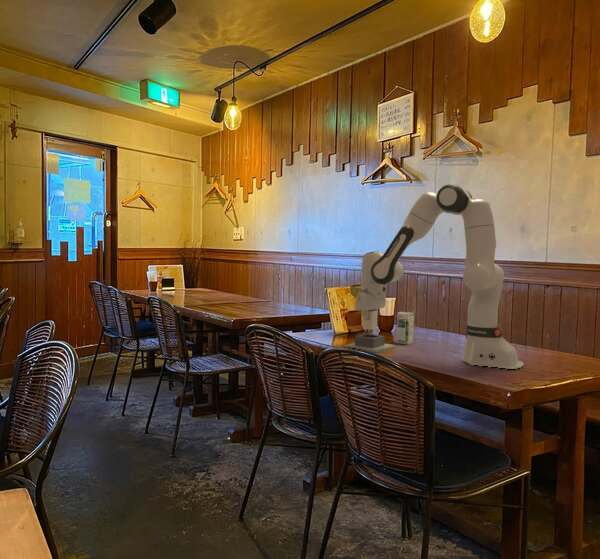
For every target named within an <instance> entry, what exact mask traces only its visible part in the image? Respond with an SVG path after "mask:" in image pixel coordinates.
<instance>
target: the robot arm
mask: <svg viewBox="0 0 600 559" xmlns="http://www.w3.org/2000/svg"><path fill="white" fill-rule="evenodd" d="M443 213H445V214H446V213H447V214H451V215H455V216H458V215H459V216H461V217H462V220H463V225H464V226H463V227H464V228H463V229H464V238H465V247H466V248H465V252H466V253H465V262H464V271H463V273H462V280H463V284H464V285H465V286H466V288H468V289H469V290H472V293H471V296H470V300H469V303H468V306H467V324H466V328H465V340H466V341H465V346H464V350H463V355H462V357H461V360H462V361H463V362H465V363H467V364H468V365H470V366H474V365H478V366H477V367H482V366H488V367H487V368H491V367H498V368H497V369H499V368H506V369H505V370H507V369H516V370H518V369H517V368H520V369H522V368H523V367H524V366H525V365H524V362H523V361H521V360H519V358H518V352H517V349H516V347H514V346H513V345H512V344H511V343H510V342H509V341H507V340H506V339H505V338H504V337H503V332H504V329H503V328H502V329H501V328H500V327H499V326H498V322H499V321H498V318H499V305H500V299H501V296H502V295H501V294H502V289H503V284H504V283H503V282H504V280H505V272H504V270H503V268H502V267H501V266H500V265H499V264H496V263H495V256H496V254H495V253H496V248H497V238H496V229H495V228H496V227H495V220H494V215H493V211H492V208H491V205H490V202H488V200H486V199H483V198H473V197H472V194H471V193H470V192H469V191H468V190H467V189H465V188H464V187H462V186H461V185H458V184H456V183H455V184H454V183H448V184H445V185H443V186H442V187H440V189H439V190H438V191H437V193H436V192H433V191H425V192H424V193H422V194H421V195H420V197H418V199H417V200H416V201H415V203H414V204H413V206H412V207H411V208H410V210H409V213H408V214H407V216H406V218H405V220H404V221H403V223H402V225H401V227H400V229H399V230H398V232H397V233H396V235H395V236H394V238H393V240H392V241H391V242H390V244H389V246H388V247H387V249H386V250H385V252H384V253H382V252H381V251H370V252H366V253H365V254H364V255H363V256H362V262H361V275H362V277H361V281H360V285H361V290H360V291H359V292H358V294H357V297H356V298H355V304H354V305H355V306H354V308H355V311H358V312H362V316H363V315H364V320H369V316H368V311H369V310H375V311H377V313H378V312H379V309H384V308H385V307H386V302H387V290H388V289H387V286H385V285H386V284H389V283H393V282H397V281H399V280H401V278H403V276H404V274H405V272H404V271H405V269H404V266H403V264H402V263H401V262H400V261H399V260H400V259H401V257H402V255H403V254H404V253H405V251H406V249H407V248H409V246H411V245H412V244H413V243H414V242H417V241H418V240H421V239H423V238H424V237H426V235H428V234H429V232H430V230H431V229H432V228H433V226H434V224H435V222H436V220H437V219H438V218H439V216H440V215H441V214H443ZM385 292H386V293H385ZM523 365H524V366H523ZM522 366H523V367H522ZM521 367H522V368H521Z"/></svg>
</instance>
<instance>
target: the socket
mask: <svg viewBox="0 0 600 559" xmlns="http://www.w3.org/2000/svg"><path fill="white" fill-rule="evenodd" d="M361 334H362V333H361ZM373 334H374V333H370V334H362V335H358V336H356V335H355V336H354V342H352V343H349V344H344V348H345V347H351V348H356V349H355V350H357V349H362V350H361V351H363V350H366V351H365V352H369V353H375V352H377V353H380V352H383V351H382V350H384V351H386V349H387V350H390V349H393V348H395V345H396V344H395V345H394V344H391V343H385V341H386V340H385V339H386V338H385V335H379V334H375V335H373ZM351 348H350V349H351ZM389 348H390V349H389ZM371 351H373V352H371ZM379 351H380V352H379Z"/></svg>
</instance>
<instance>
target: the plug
mask: <svg viewBox="0 0 600 559" xmlns="http://www.w3.org/2000/svg"><path fill="white" fill-rule="evenodd" d="M368 316H369V320H364V315H363V314H362V330H366V329H368V331H369V330H370V331H372V330H377V329H378V312H377V311H375V310H369V311H368Z"/></svg>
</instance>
